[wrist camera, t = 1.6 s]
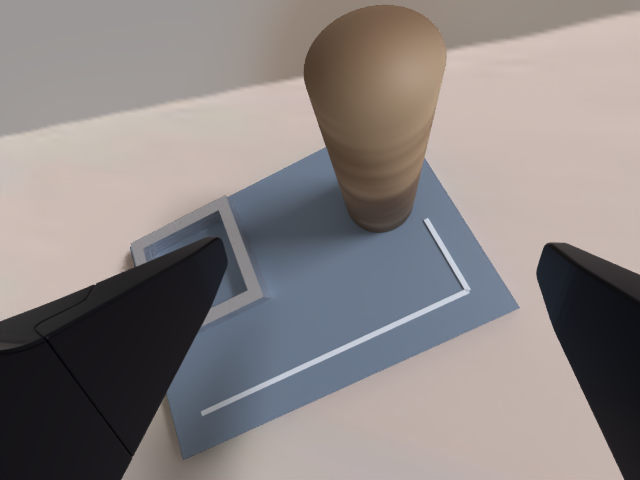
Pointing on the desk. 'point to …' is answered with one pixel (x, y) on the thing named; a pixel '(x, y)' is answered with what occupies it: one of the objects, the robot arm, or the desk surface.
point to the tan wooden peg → (376, 106)
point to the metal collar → (240, 243)
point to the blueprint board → (327, 301)
